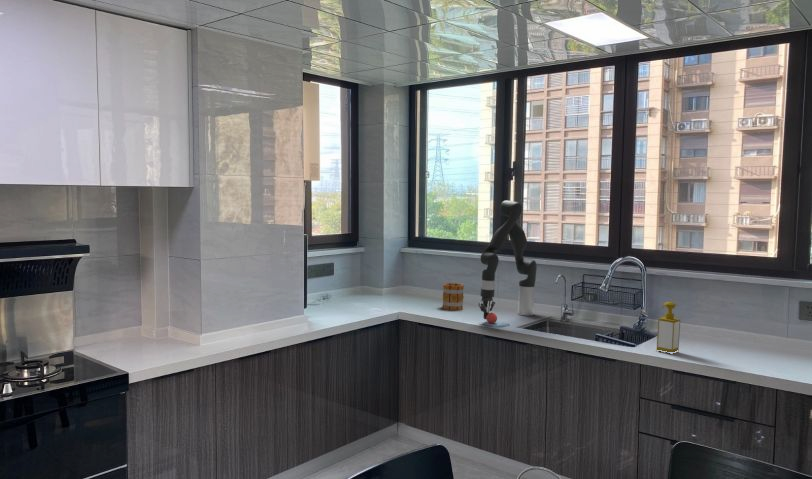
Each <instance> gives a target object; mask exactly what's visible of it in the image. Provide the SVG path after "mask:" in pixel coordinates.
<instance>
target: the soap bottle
mask: <svg viewBox="0 0 812 479" xmlns="http://www.w3.org/2000/svg"><path fill="white" fill-rule="evenodd" d="M676 306H677V303H675V302H672V301H667V302H664V304H663V306H661V308H662V309H663V308H666V309H667V312H665V316H662V317H659V318H657V319H658V321H657V322H658V323H657V338H656V339H657V340H656V351H657V350H662V351H667V352H675V351H677V350H678V351H679V350H680V349H679V347H680V334H681V333H680V331H681V330H680V329H681V318H675V313H673V309H675V308H676Z"/></svg>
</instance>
